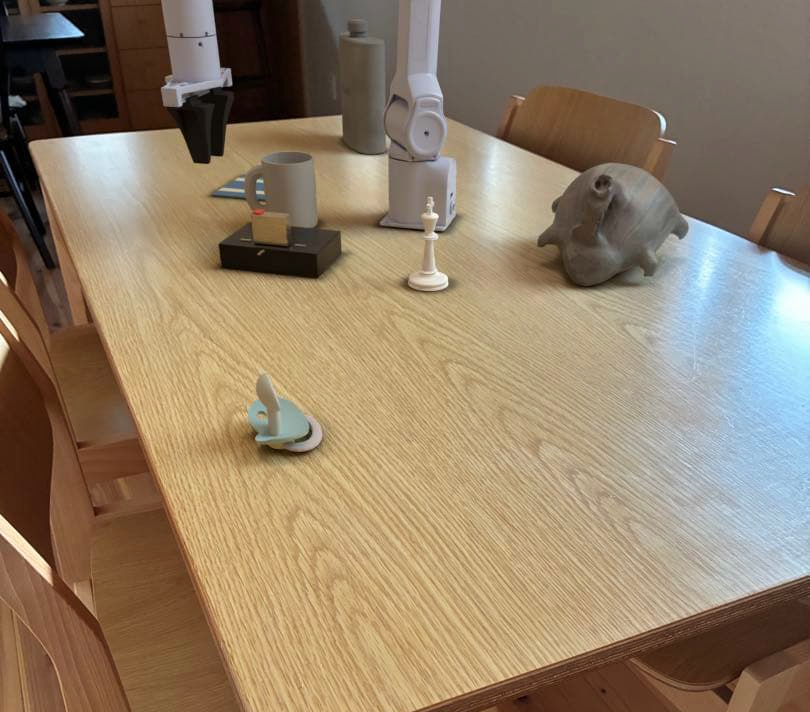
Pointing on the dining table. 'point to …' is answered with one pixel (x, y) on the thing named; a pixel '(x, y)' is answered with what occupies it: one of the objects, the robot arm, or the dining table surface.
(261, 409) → the pacifier
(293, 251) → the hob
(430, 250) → the chess piece
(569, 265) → the clay animal vessel
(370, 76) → the flask
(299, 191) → the cup
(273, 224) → the tan flat block piece
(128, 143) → the dining table surface
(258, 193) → the dish towel
